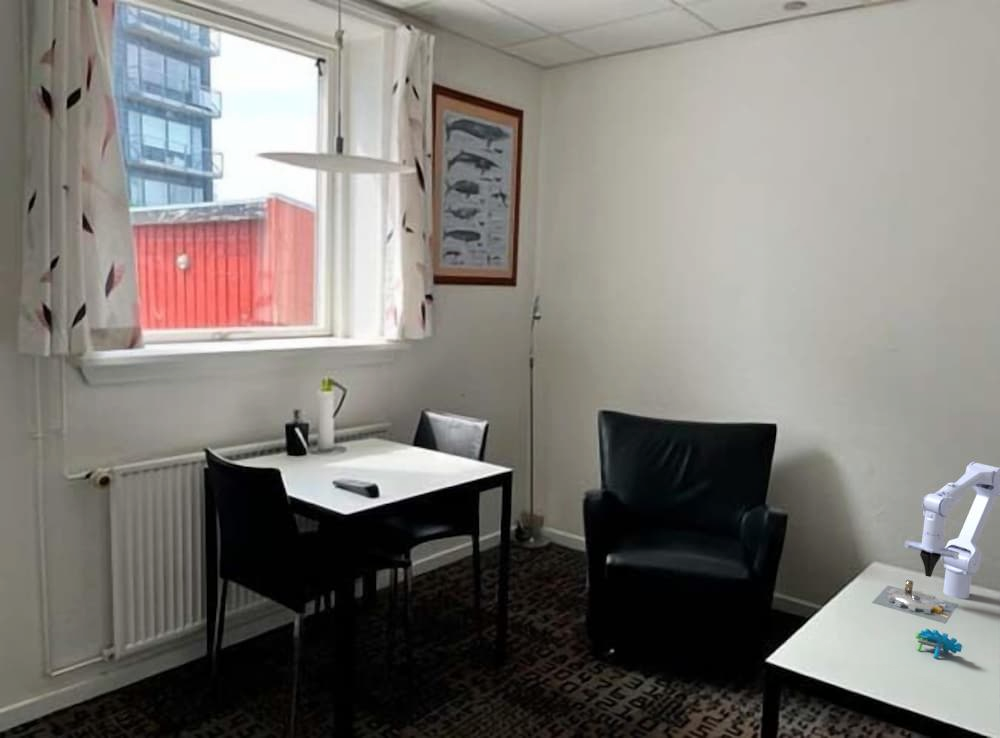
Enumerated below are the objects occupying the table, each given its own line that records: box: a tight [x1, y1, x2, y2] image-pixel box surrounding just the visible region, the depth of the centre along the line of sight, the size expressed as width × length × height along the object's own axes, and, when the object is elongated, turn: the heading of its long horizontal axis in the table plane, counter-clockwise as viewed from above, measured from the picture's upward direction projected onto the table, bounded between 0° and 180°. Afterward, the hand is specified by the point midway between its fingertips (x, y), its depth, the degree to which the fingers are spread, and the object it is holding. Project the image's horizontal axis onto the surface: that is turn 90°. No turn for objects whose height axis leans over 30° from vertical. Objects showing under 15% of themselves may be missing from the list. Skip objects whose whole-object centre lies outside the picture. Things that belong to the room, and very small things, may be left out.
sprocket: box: [886, 579, 945, 614], centre depth 237 cm, size 16×16×5 cm
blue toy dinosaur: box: [915, 628, 963, 660], centre depth 205 cm, size 11×6×10 cm
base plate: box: [871, 585, 959, 624], centre depth 238 cm, size 20×20×1 cm
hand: (928, 575), depth 239 cm, fingers closed
